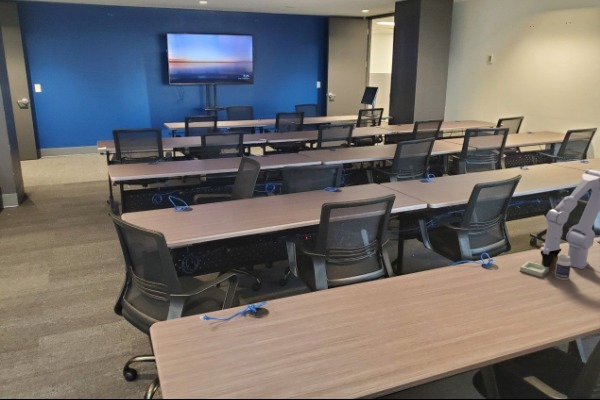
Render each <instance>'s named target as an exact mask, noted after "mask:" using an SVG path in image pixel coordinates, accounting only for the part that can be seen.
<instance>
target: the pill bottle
mask: <svg viewBox="0 0 600 400" xmlns="http://www.w3.org/2000/svg"><path fill="white" fill-rule="evenodd" d="M571 267H572V266H571V262H570V257H569V256H568V254H560V255H558V260H557V262H556V269H555V271H554V277H555V278H556V279H558V280H563V281H565V280H569V278H570V272H571Z"/></svg>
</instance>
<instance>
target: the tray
mask: <svg viewBox="0 0 600 400" xmlns="http://www.w3.org/2000/svg"><path fill="white" fill-rule="evenodd" d="M519 272H521V273H524V274H529V275H532V276H534V277H537V278H538V277H539V278H543V277H544V276H545V275H547V273H549V272H550V271H549V267H544V266H543V265H542V263H537V262H534V261H530V260H528V261H526V262H525V263H523V264H522V265H521V266H520V269H519Z"/></svg>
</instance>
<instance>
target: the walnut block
mask: <svg viewBox="0 0 600 400" xmlns="http://www.w3.org/2000/svg"><path fill="white" fill-rule="evenodd" d="M557 260H559V255H558V256H554V257H553V259H552V261H551V264H550V267H549V272H550V273H555V269H556V262H557ZM541 264H542V265H543V258H541Z"/></svg>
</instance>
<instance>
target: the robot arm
mask: <svg viewBox="0 0 600 400" xmlns="http://www.w3.org/2000/svg"><path fill="white" fill-rule="evenodd" d="M589 190H591V191H592V192H591V194H590V197H589V199H588V201H587V204H586V206H585V208H584V211H582V215H581V217H580V219H579V222H578V223H577V224H575V225H573V226H571V227H570V230H569V231H568V232H567V234H566V237H565V240H566V241H567V244H568V250H567V251H568V252H567V256H569V257H570V262H571V267H573V268H577V269H581V270H583V269H584V268H586V266H587V265H589V263H590V261H588V256H589V255H588V254H589V249H590V248H591V247H592V246H593V245H594V243H595V242H594V241H595V237H596V234H595V233H596V232H595V231H594V230H593V226H594V224H595V221H596V219H597V217H598V214H599V213H600V170H599V169H595V168H592V167H591V168H587V169H586V170H585V171H584V173H583V174H581V181H580V182H579V183H578V184H577V186H576V187H575V189H574V190H573V191H572V192H571V194H570V195H568V196H564V197H563V199H562V200H560V202H559V203H558V204H557V205H556V207H555V208H552V209H549V211H548V212H547V213H546V215H545V219H546V224H547V228H546V233H545V234H546V235H545V240H544V241H545V242H543V243H541V246H543V249H542V250H540V255H541V257H542V258H543V266H544V267H550V264H551V261H552V259H553V257H554V256H558V257H559V254H560V253H561V251H562V248H560V244H561V239H562V234H563V227H564V225H565V224H566V223H567V222H568V220H569V216H570V213H571V212H572V211H573V210H574V209H575V208H576V207H577V206H578V201H579V199H581V198H582V197H583V196H584V195H585V194H586V193H587V192H588V191H589ZM542 258H541V259H542Z"/></svg>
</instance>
